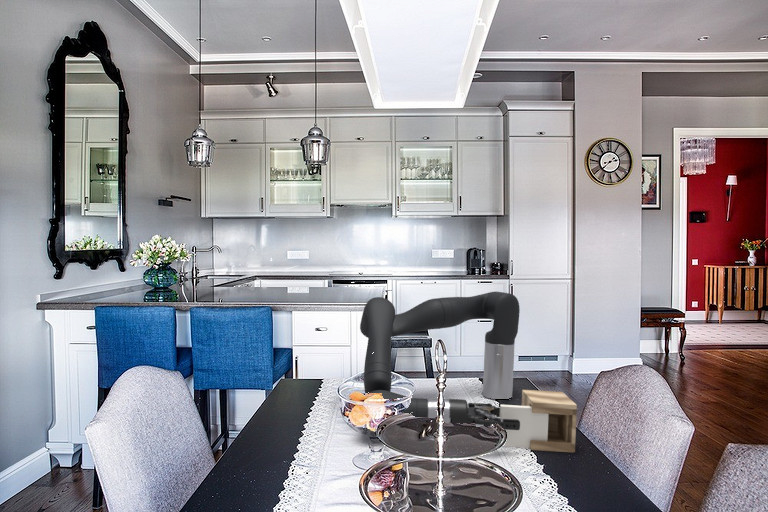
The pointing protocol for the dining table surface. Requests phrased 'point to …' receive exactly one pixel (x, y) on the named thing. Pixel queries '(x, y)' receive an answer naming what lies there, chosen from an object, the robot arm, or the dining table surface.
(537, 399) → the box
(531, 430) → the cover plate
